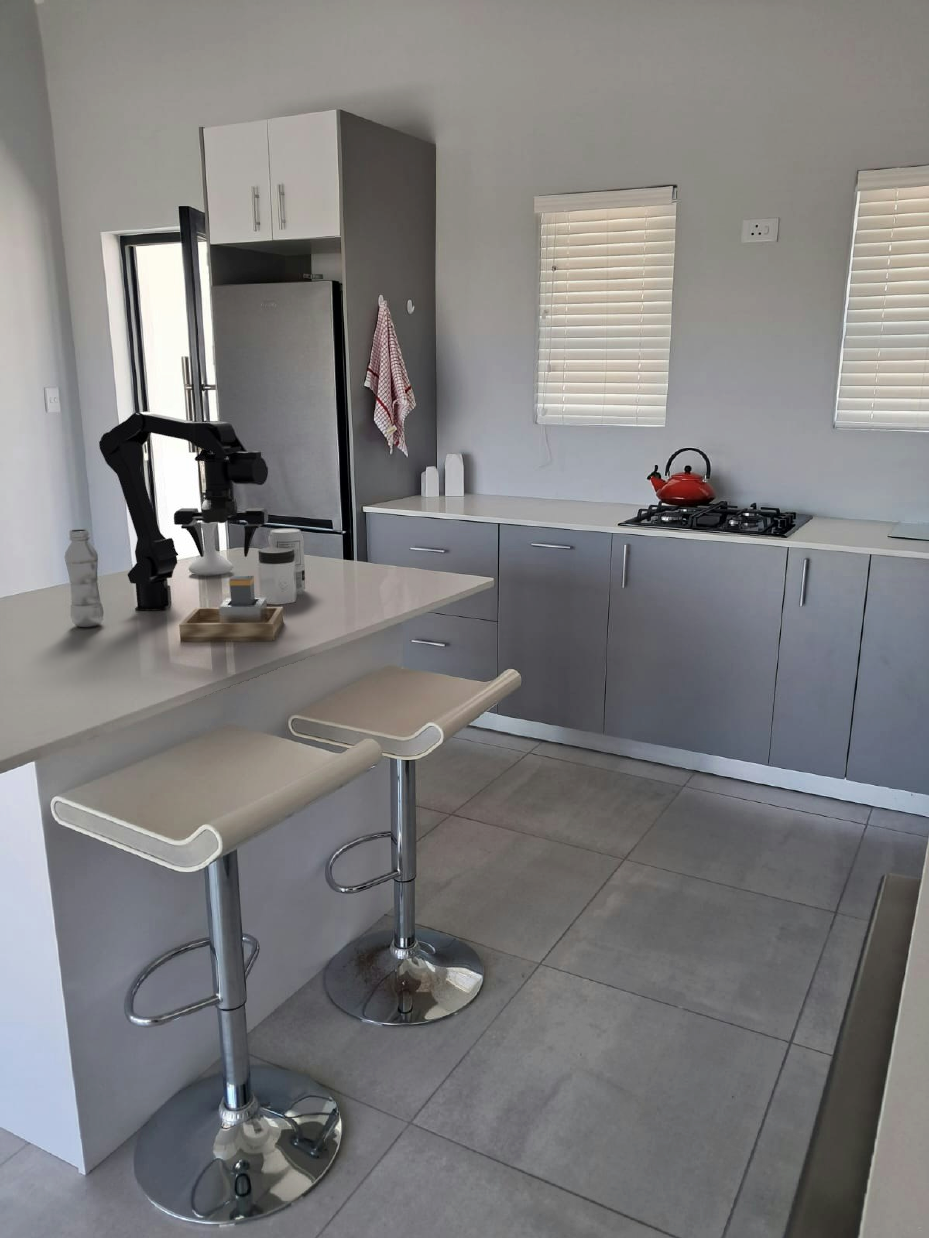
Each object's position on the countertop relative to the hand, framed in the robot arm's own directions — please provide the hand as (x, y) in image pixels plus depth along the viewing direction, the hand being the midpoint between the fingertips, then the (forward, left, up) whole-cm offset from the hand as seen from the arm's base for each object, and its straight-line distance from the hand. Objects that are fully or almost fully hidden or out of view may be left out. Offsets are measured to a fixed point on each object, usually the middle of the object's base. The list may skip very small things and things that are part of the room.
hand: (224, 556), depth 198 cm
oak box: (+4, -14, -13) cm, 20 cm away
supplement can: (+10, +23, -13) cm, 28 cm away
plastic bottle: (-27, -8, -13) cm, 31 cm away
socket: (+6, -13, -13) cm, 19 cm away
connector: (+6, -13, -10) cm, 17 cm away
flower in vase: (-13, +46, -13) cm, 50 cm away
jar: (+9, +14, -13) cm, 21 cm away
